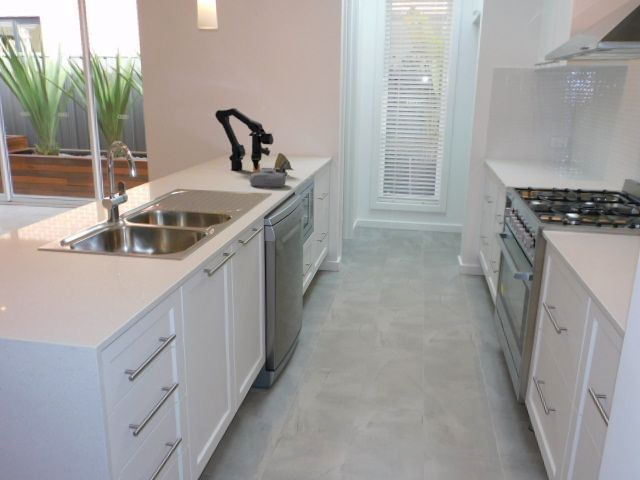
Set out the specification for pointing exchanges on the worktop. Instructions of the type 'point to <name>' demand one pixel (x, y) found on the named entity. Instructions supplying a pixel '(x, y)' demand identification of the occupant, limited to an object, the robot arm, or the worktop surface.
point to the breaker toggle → (284, 165)
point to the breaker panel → (274, 170)
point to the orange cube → (257, 168)
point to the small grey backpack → (268, 179)
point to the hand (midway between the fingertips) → (256, 168)
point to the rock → (281, 161)
